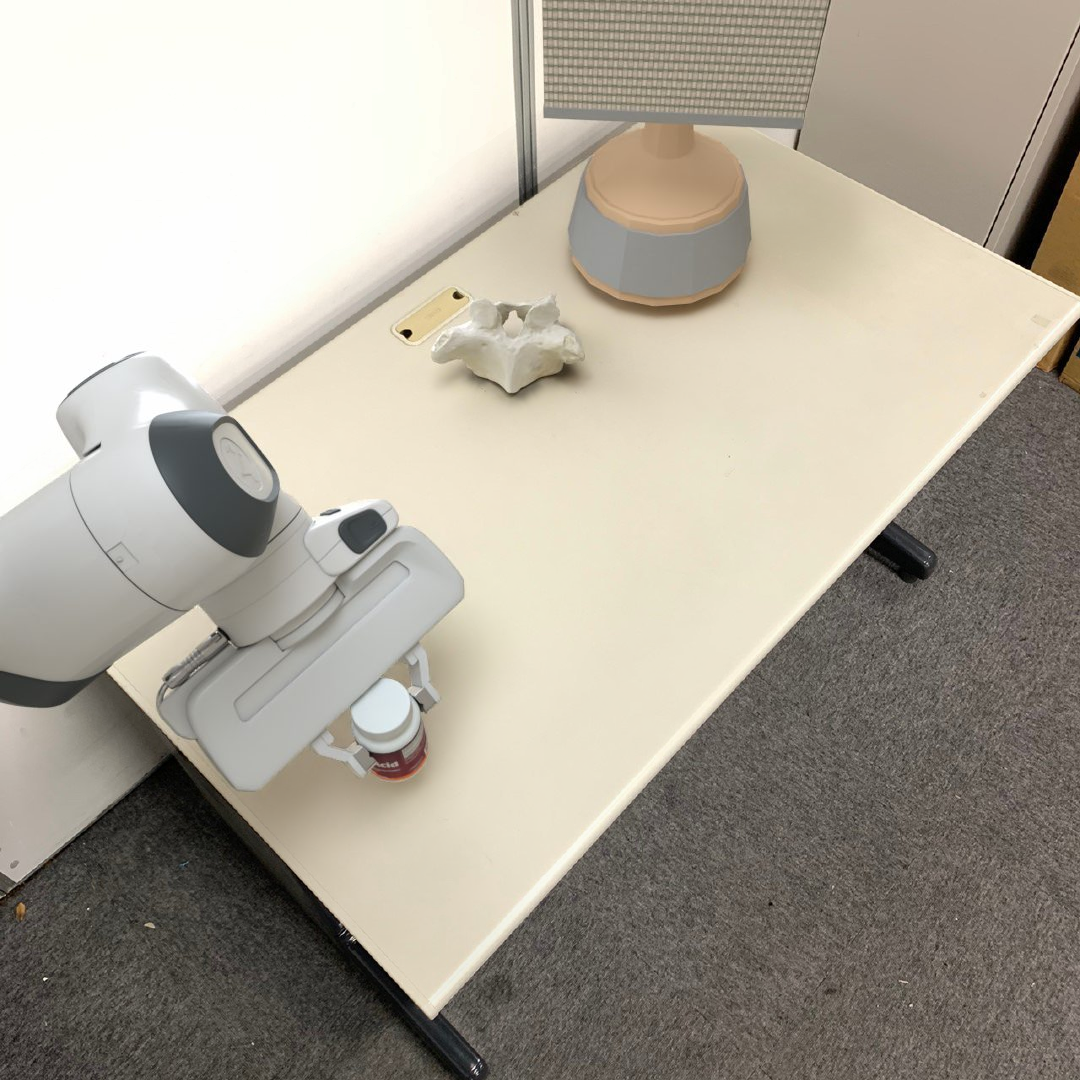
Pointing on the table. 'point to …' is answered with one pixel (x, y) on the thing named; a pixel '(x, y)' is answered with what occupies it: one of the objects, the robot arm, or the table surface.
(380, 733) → the pill bottle
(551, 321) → the bone
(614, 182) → the desk lamp
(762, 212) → the table surface
